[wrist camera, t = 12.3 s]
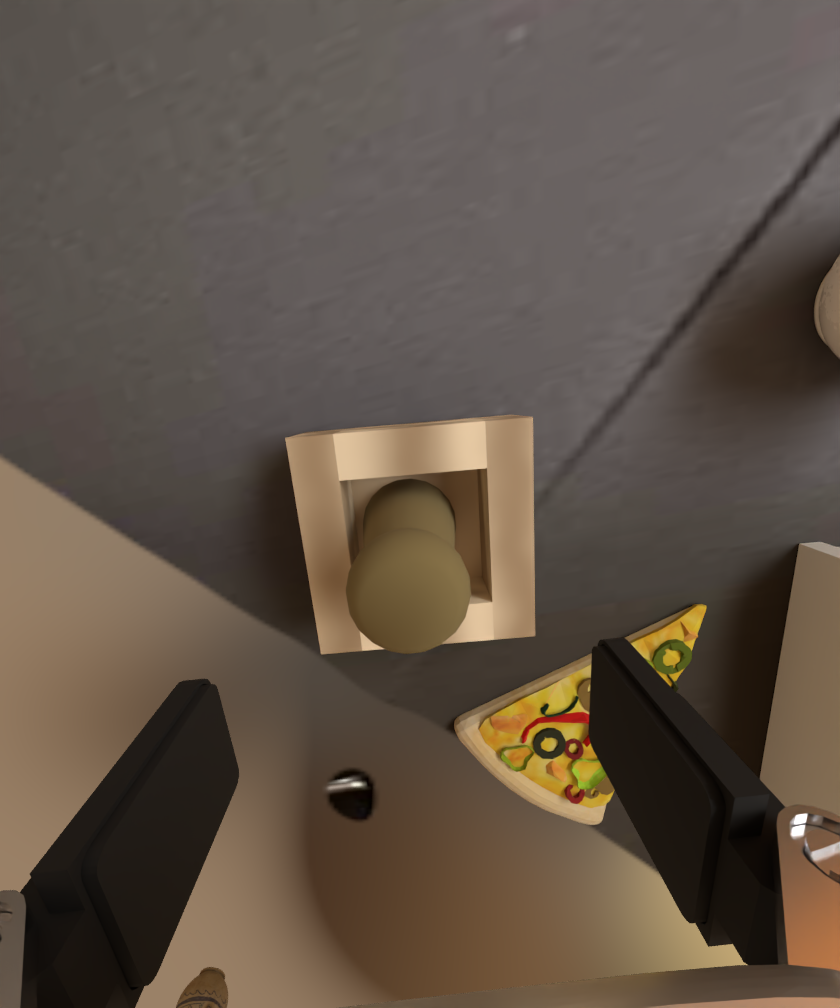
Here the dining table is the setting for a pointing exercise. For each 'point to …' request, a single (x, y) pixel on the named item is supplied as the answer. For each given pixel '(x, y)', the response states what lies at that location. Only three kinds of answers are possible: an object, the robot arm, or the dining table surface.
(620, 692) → the robot arm
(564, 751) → the pizza slice
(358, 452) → the caddy
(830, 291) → the lidded jar
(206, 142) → the dining table surface
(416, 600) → the cork
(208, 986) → the decorative pitcher
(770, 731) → the white rectangular frame
